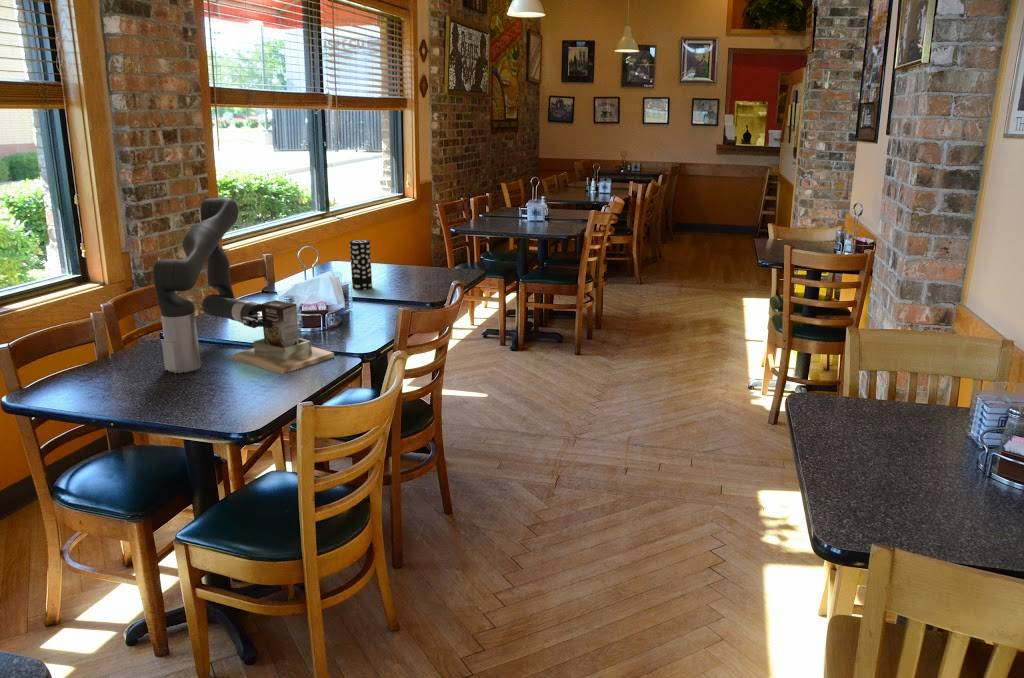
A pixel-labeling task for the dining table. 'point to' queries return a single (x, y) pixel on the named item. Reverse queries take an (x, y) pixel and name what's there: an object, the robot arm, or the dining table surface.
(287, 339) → the coffee box
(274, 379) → the dining table surface
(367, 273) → the white-spotted black cylinder
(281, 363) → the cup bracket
